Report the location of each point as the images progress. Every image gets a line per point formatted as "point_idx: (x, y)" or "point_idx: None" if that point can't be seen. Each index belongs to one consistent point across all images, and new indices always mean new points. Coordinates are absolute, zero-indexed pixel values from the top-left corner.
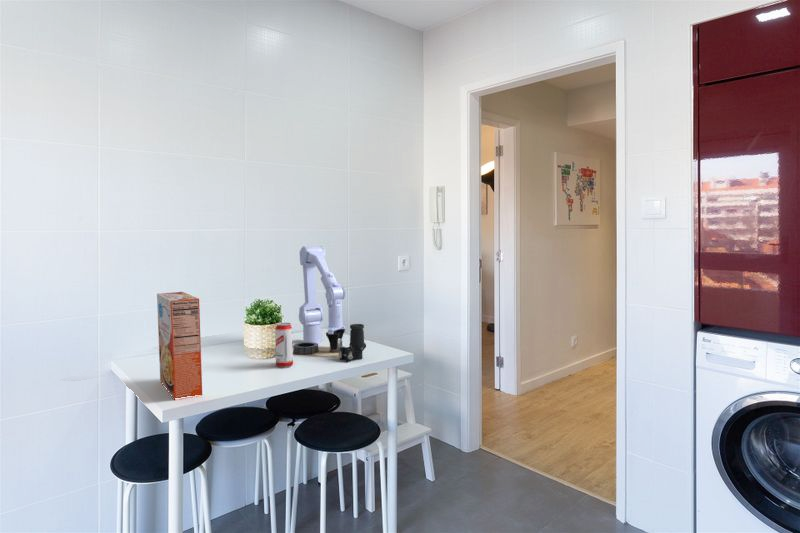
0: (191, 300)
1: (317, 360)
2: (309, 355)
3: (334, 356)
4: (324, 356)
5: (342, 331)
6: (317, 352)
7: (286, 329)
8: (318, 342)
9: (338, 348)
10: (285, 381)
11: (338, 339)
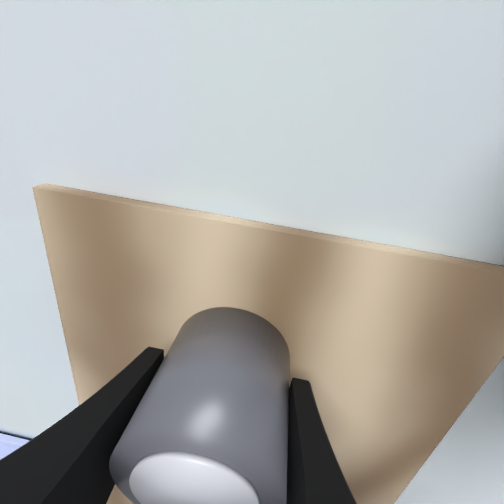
0: None
1: (492, 452)
2: (364, 496)
3: (454, 362)
4: (427, 428)
5: None
6: None
7: None
8: (1, 448)
9: (279, 366)
10: None
11: (226, 479)
